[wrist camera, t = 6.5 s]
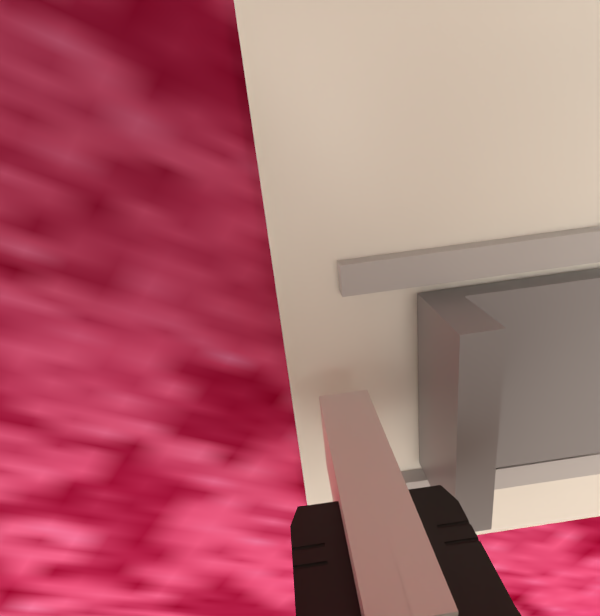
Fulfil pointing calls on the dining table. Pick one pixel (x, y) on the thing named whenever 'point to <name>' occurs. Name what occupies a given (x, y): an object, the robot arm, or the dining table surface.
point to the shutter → (506, 380)
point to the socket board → (420, 195)
